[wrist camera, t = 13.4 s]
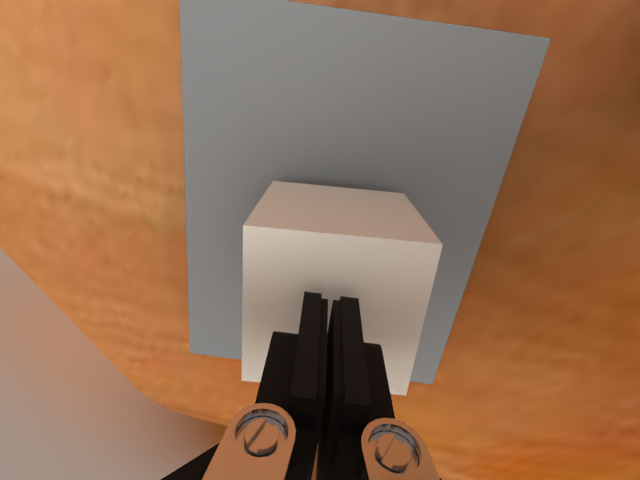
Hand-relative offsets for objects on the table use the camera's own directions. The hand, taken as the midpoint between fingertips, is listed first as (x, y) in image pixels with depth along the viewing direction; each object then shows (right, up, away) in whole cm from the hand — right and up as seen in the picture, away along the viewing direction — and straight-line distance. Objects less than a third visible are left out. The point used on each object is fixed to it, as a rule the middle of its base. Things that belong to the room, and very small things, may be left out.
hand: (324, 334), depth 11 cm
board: (+1, +4, +10) cm, 11 cm away
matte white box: (0, +3, +6) cm, 7 cm away
